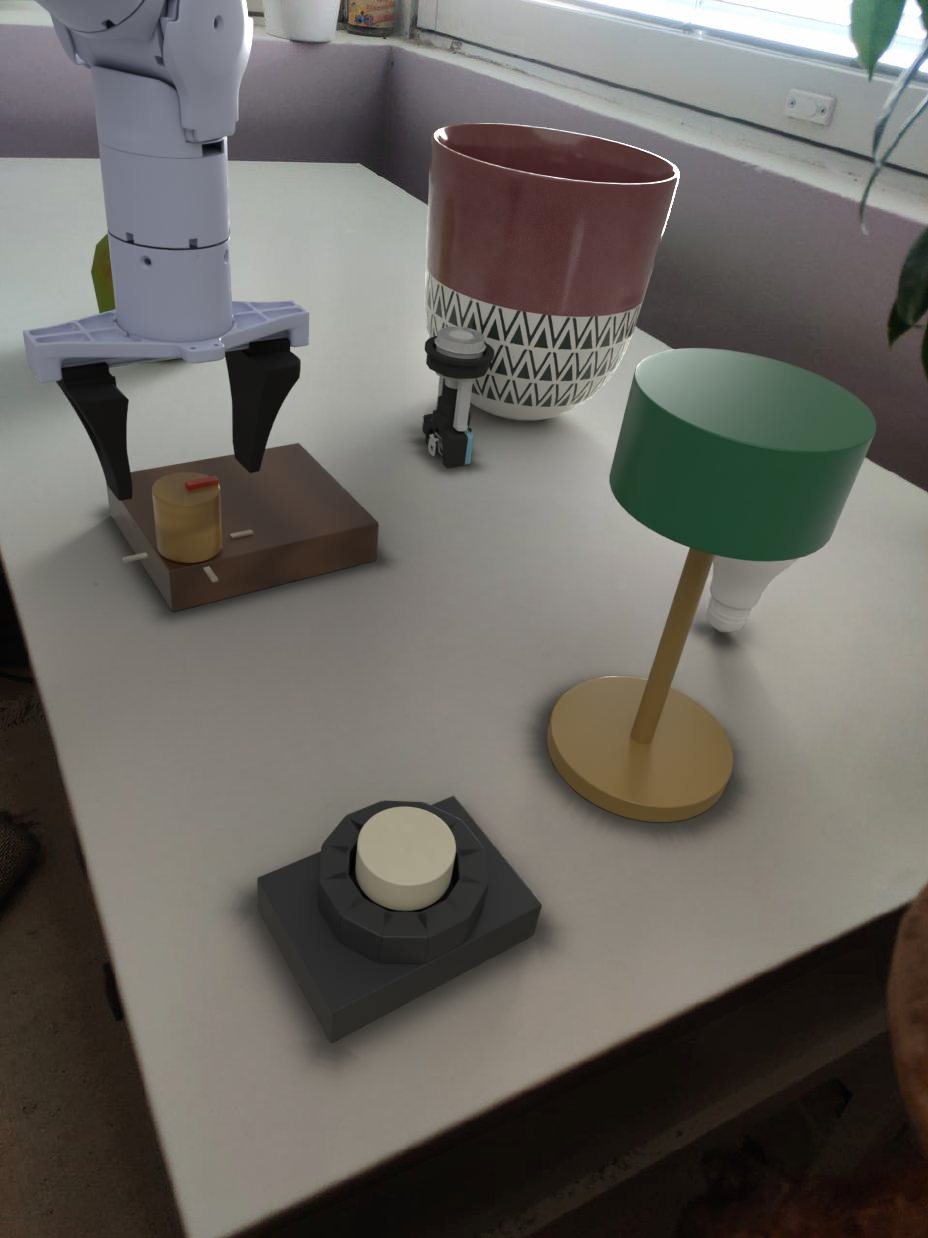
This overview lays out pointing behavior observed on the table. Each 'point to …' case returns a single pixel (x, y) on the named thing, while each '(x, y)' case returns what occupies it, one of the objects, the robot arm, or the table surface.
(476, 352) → the push button
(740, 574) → the lightbulb
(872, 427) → the desk lamp
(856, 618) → the table surface
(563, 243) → the planter
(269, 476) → the dimmer panel
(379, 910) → the switch block
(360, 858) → the button
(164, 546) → the dimmer knob
